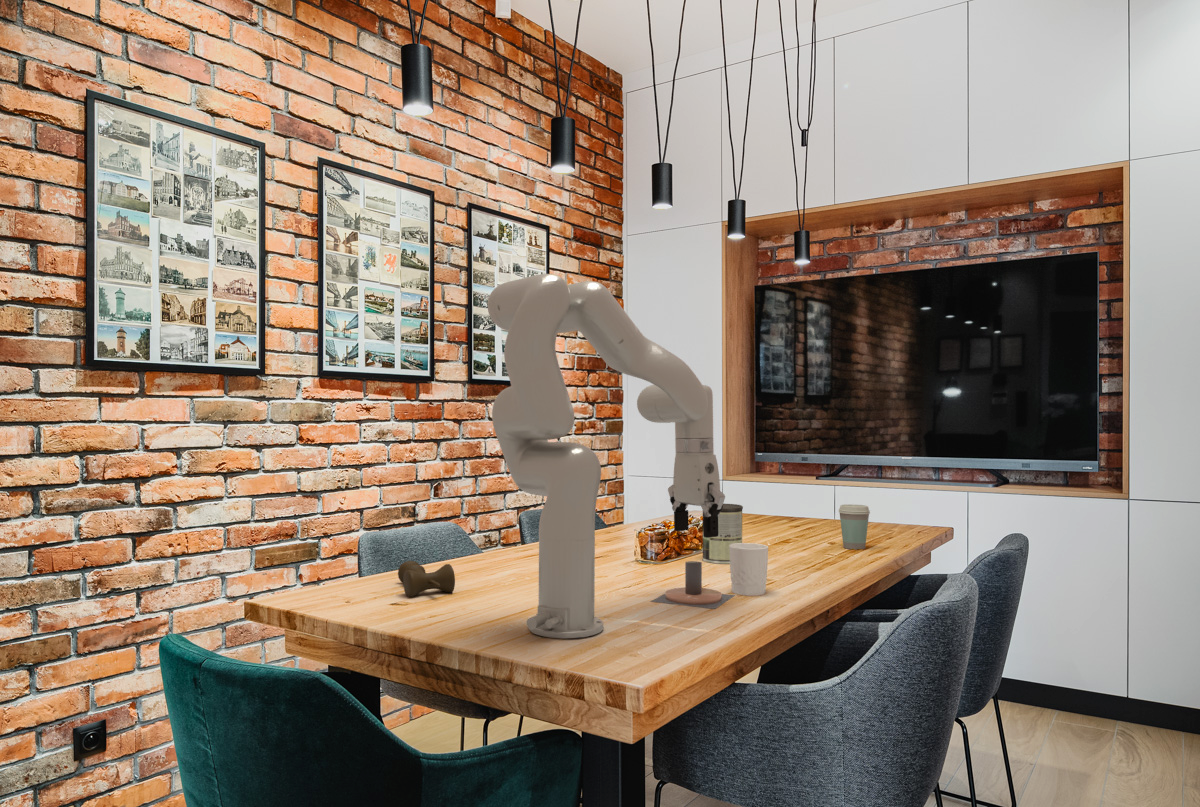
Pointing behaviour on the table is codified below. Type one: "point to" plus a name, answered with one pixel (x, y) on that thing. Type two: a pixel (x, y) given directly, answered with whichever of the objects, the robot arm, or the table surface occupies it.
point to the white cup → (748, 568)
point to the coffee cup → (854, 525)
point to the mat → (711, 606)
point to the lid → (693, 588)
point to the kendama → (425, 578)
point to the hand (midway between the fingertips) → (695, 533)
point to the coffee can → (724, 535)
